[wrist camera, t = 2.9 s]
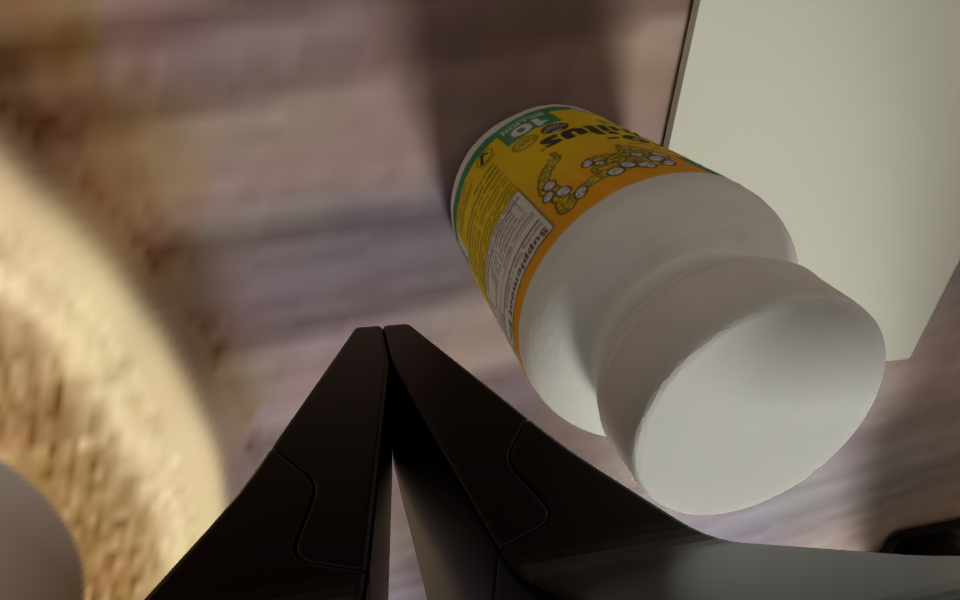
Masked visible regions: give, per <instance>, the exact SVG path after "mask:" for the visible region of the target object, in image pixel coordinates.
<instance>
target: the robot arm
mask: <svg viewBox="0 0 960 600" xmlns="http://www.w3.org/2000/svg"><path fill="white" fill-rule="evenodd" d="M392 455H393V462H394V466H395V471H396V476H397V480H398V483H399V487H400V491H401V495H402V499H403V503H404V507H405V511H406V515H407V519H408V523H409V527H410V531H411V535H412V539H413V543H414V547H415V551H416V555H417V559H418V563H419V567H420V571H421V575H422V579H423V583H424V587H425V591H426V595H427V599H428V600H960V520H959V521H954V522H949V523H944V524H939V525H934V526H929V527H924V528H919V529H914V530H909V531H903V532H899V533H897V534H895V535H894V536H893V537H892V538H891V539H890V540H889V542H888V543H887V545H886V547H885V548H884V550H883V552H882V553H874V552H860V551H846V550H833V549H819V548H806V547H792V546H778V545H765V544H751V543H740V542H732V541H728V540H723V539H719V538H716V537H713V536H710V535H707V534H704V533H702V532H700V531H698V530H695V529H693V528H691V527H689V526H688V525H686V524H684V523H682V522H681V521H679V520H677V519H675V518H674V517H672V516H671V515H669V514H668V513H666V512H664V511H663V510H661V509H660V508H658V507H656V506H655V505H653V504H652V503H650V502H649V501H647V500H645V499H644V498H642V497H641V496H639V495H637V494H636V493H634V492H633V491H631V490H630V489H628V488H626V487H625V486H623V485H622V484H620V483H618V482H617V481H615V480H614V479H612V478H611V477H609V476H607V475H606V474H604V473H603V472H601V471H600V470H598V469H597V468H595V467H594V466H592V465H591V464H589V463H588V462H586V461H585V460H583V459H582V458H580V457H578V456H577V455H575V454H574V453H572V452H571V451H570V450H568V449H567V448H566V447H564V446H563V445H562V444H560V443H559V442H558V441H556V440H555V439H554V438H552V437H551V436H549V435H548V434H547V433H545V432H544V431H543V430H542V429H540V428H539V427H538V426H537V425H535V424H534V423H533V422H532V421H528V420H527V418H526V417H525V416H524V415H522V414H521V413H520V412H519V411H517V410H516V409H515V408H514V407H512V406H511V405H510V404H509V403H507V402H506V401H505V400H503V399H502V398H501V397H500V396H498V395H497V394H496V393H495V392H493V391H492V390H491V389H490V388H488V387H487V386H486V385H485V384H483V383H482V382H481V381H479V380H478V379H477V378H476V377H474V376H473V375H472V374H471V373H469V372H468V371H467V370H466V369H464V368H463V367H462V366H461V365H459V364H458V363H457V362H455V361H454V360H453V359H452V358H450V357H449V356H448V355H447V354H445V353H444V352H443V351H442V350H440V349H439V348H438V347H437V346H435V345H434V344H433V343H431V342H430V341H429V340H428V339H426V338H425V337H424V336H423V335H421V334H420V333H419V332H418V331H416V330H415V329H414V328H413V327H411V326H410V325H407V324H402V325H388V326H385V327H384V328H383V330H382V328H381V327H379V326H374V327H360V328H356V329H355V330H354V332H353V333H352V334H351V336H350V337H349V339H348V340H347V342H346V343H345V344H344V346H343V347H342V349H341V350H340V352H339V353H338V354H337V356H336V357H335V359H334V360H333V362H332V363H331V364H330V366H329V367H328V369H327V370H326V372H325V373H324V374H323V376H322V377H321V379H320V380H319V382H318V383H317V384H316V386H315V387H314V389H313V390H312V392H311V393H310V394H309V396H308V397H307V399H306V400H305V402H304V403H303V404H302V406H301V407H300V409H299V410H298V412H297V413H296V415H295V416H294V417H293V419H292V420H291V422H290V423H289V425H288V426H287V427H286V429H285V430H284V432H283V433H282V435H281V436H280V437H279V439H278V440H277V442H276V443H275V445H274V446H273V447H272V450H271V451H269V453H268V454H267V455H266V457H265V458H264V460H263V461H262V463H261V464H260V466H259V467H258V468H257V470H256V471H255V472H254V474H253V475H252V476H251V478H250V479H249V480H248V482H247V483H246V484H245V486H244V487H243V488H242V490H241V491H240V492H239V494H238V495H237V496H236V497H235V499H234V500H233V501H232V502H231V503H230V504H229V506H228V507H227V508H226V509H225V510H224V511H223V512H222V514H221V515H220V516H219V517H218V518H217V519H216V521H215V522H214V523H213V524H212V525H211V526H210V528H209V529H208V530H207V531H206V532H205V533H204V534H203V535H202V536H201V538H200V539H199V540H198V541H197V542H196V543H195V544H194V545H193V546H192V547H191V549H190V550H189V551H188V552H187V553H186V554H185V555H184V556H183V557H182V558H181V560H180V561H179V562H178V563H177V564H176V565H175V566H174V567H173V568H172V570H171V571H170V572H169V573H168V574H167V575H166V576H165V577H164V578H163V579H162V581H161V582H160V583H159V584H158V585H157V586H156V587H155V588H154V589H153V590H152V592H151V593H150V594H149V595H148V596H147V597H146V598H145V599H144V600H388V589H389V557H390V526H391V495H392Z"/></svg>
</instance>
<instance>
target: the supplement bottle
mask: <svg viewBox="0 0 960 600" xmlns="http://www.w3.org/2000/svg"><path fill="white" fill-rule="evenodd" d="M451 220H452V226H453V231H454V235H455V238H456V241H457V243H458V246H459V248H460V250H461V252H462V254H463V256H464V258H465V260H466V262H467V264H468V266H469V268H470V270H471V272H472V274H473V276H474V278H475V280H476V281H477V283H478V285H479V287H480V289H481V291H482V293H483V295H484V297H485V299H486V301H487V302H488V304H489V306H490V308H491V310H492V312H493V314H494V315H495V317H496V319H497V321H498V323H499V325H500V327H501V329H502V331H503V333H504V334H505V336H506V338H507V340H508V342H509V344H510V346H511V348H512V350H513V352H514V354H515V356H516V357H517V359H518V361H519V363H520V365H521V366H522V368H523V370H524V372H525V374H526V376H527V378H528V379H529V381H530V383H531V384H532V386H533V387H534V389H535V390H536V392H537V393H538V394H539V396H540V397H541V398H542V400H543V401H544V402H545V403H546V404H547V405H548V406H549V407H550V408H551V409H552V410H553V411H554V412H555V413H556V414H558V415H559V416H560V417H562V418H563V419H564V420H566V421H567V422H569V423H571V424H573V425H574V426H576V427H578V428H581V429H583V430H586V431H588V432H591V433H594V434H597V435H601V436H606V437H607V439H608V440H609V442H610V444H611V445H612V447H613V448H614V449H615V450H616V451H617V452H618V454H619V455H620V457H621V458H622V460H623V461H624V463H625V464H626V466H627V467H628V469H629V470H630V472H631V473H632V475H633V477H634V478H635V480H636V481H637V482H638V484H639V485H640V486H641V488H642V489H643V490H644V491H645V492H646V494H647V495H648V496H649V497H651V498H652V499H653V500H654V501H656V502H657V503H659V504H661V505H662V506H664V507H666V508H668V509H671V510H674V511H677V512H680V513H686V514H692V515H715V514H723V513H727V512H733V511H737V510H741V509H744V508H747V507H751V506H753V505H756V504H758V503H760V502H763V501H766V500H768V499H770V498H772V497H774V496H776V495H778V494H780V493H782V492H784V491H786V490H788V489H789V488H791V487H792V486H794V485H796V484H797V483H799V482H801V481H802V480H804V479H805V478H807V477H808V476H809V475H811V474H812V473H813V472H814V471H815V470H817V469H818V468H819V467H820V466H822V465H823V464H824V463H825V462H826V461H827V460H829V459H830V457H831V456H832V455H834V454H835V453H836V452H837V451H838V450H839V449H840V448H841V447H842V446H843V445H844V444H845V443H846V442H847V441H848V439H849V438H850V437H851V436H852V435H853V433H854V432H855V431H856V430H857V428H858V427H859V426H860V424H861V423H862V421H863V420H864V418H865V416H866V415H867V413H868V412H869V410H870V408H871V406H872V404H873V402H874V400H875V398H876V396H877V393H878V389H879V387H880V385H881V382H882V379H883V374H884V369H885V364H886V349H885V343H884V338H883V335H882V332H881V330H880V328H879V326H878V324H877V322H876V321H875V319H874V318H873V317H872V316H871V315H870V314H869V313H868V312H867V311H866V310H865V309H864V308H863V307H861V306H860V305H859V304H858V303H856V302H855V301H854V300H852V299H851V298H849V297H848V296H846V295H845V294H843V293H842V292H840V291H839V290H837V289H836V288H834V287H832V286H831V285H829V284H828V283H826V282H825V281H823V280H822V279H820V278H819V277H818V276H817V275H816V274H814V273H813V272H812V271H811V270H809V269H807V268H805V267H803V266H802V265H799V264H798V259H797V254H796V250H795V247H794V244H793V241H792V239H791V236H790V234H789V232H788V231H787V229H786V227H785V225H784V223H783V222H782V220H781V219H780V218H779V216H778V215H777V214H776V212H775V211H774V210H773V209H772V208H771V207H770V206H769V205H768V204H767V203H766V202H765V201H764V200H763V199H762V198H760V197H759V196H758V195H756V194H755V193H753V192H752V191H750V190H748V189H747V188H745V187H744V186H742V185H740V184H739V183H736V182H734V181H732V180H730V179H729V178H727V177H725V176H723V175H721V174H719V173H717V172H715V171H712V170H710V169H708V168H706V167H704V166H703V165H701V164H698V163H696V162H694V161H692V160H690V159H688V158H687V157H685V156H682V155H680V154H678V153H676V152H674V151H672V150H669V149H667V148H664V147H662V146H660V145H658V144H656V143H655V142H653V141H651V140H649V139H646V138H643V137H640V136H639V135H638V134H636V133H634V132H632V131H630V130H628V129H626V128H624V127H622V126H619V125H617V124H615V123H613V122H611V121H609V120H607V119H605V118H604V117H602V116H600V115H597V114H595V113H592V112H590V111H588V110H584V109H581V108H578V107H574V106H570V105H559V104H550V105H543V106H536V107H533V108H530V109H527V110H525V111H522V112H520V113H518V114H516V115H513V116H511V117H509V118H507V119H505V120H503V121H501V122H500V123H498V124H497V125H495V126H494V127H492V128H491V129H489V130H488V131H487V132H486V133H485V134H484V135H483V136H482V137H480V138H479V139H478V140H477V142H476V143H475V144H474V145H473V146H472V147H471V149H470V150H469V152H468V153H467V154H466V156H465V158H464V160H463V162H462V164H461V166H460V168H459V171H458V173H457V176H456V179H455V182H454V187H453V191H452V197H451Z"/></svg>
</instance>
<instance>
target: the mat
mask: <svg viewBox="0 0 960 600" xmlns="http://www.w3.org/2000/svg"><path fill="white" fill-rule="evenodd" d="M663 147H664V148H667V149H669V150H672V151H674V152H676V153H678V154H680V155H682V156H685V157H687V158H688V159H690V160H692V161H694V162H696V163H698V164H701V165H703V166H704V167H706V168H708V169H710V170H712V171H715V172H717V173H719V174H721V175H723V176H725V177H727V178H729V179H730V180H732V181H734V182H736V183H739V184H740V185H742V186H744V187H745V188H747V189H748V190H750V191H752V192H753V193H755V194H756V195H758V196H759V197H760V198H762V199H763V200H764V201H765V202H766V203H767V204H768V205H769V206H770V207H771V208H772V209H773V210H774V211H775V212H776V214H777V215H778V216H779V218H780V219H781V220H782V222H783V223H784V225H785V227H786V229H787V231H788V232H789V234H790V236H791V239H792V241H793V244H794V247H795V250H796V254H797V259H798V264H799V265H802V266H803V267H805V268H807V269H809V270H811V271H812V272H813V273H814V274H816V275H817V276H818V277H819V278H820V279H822V280H823V281H825V282H826V283H828V284H829V285H831V286H832V287H834V288H836V289H837V290H839V291H840V292H842V293H843V294H845V295H846V296H848V297H849V298H851V299H852V300H854V301H855V302H856V303H858V304H859V305H860V306H861V307H863V308H864V309H865V310H866V311H867V312H868V313H869V314H870V315H871V316H872V317H873V318H874V319H875V321H876V322H877V324H878V326H879V328H880V330H881V332H882V335H883V338H884V343H885V349H886V361H894V360H903V359H910V357H911V355H912V353H913V351H914V349H915V347H916V345H917V343H918V341H919V339H920V337H921V335H922V333H923V331H924V329H925V327H926V325H927V323H928V321H929V319H930V317H931V315H932V313H933V311H934V309H935V307H936V306H937V304H938V302H939V300H940V298H941V296H942V294H943V292H944V290H945V288H946V286H947V284H948V282H949V280H950V278H951V276H952V274H953V272H954V270H955V268H956V266H957V264H958V262H959V260H960V0H694V2H693V7H692V11H691V16H690V21H689V26H688V30H687V35H686V40H685V44H684V49H683V54H682V59H681V63H680V68H679V73H678V78H677V82H676V87H675V92H674V97H673V101H672V106H671V111H670V115H669V120H668V125H667V130H666V134H665V139H664V144H663Z"/></svg>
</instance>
